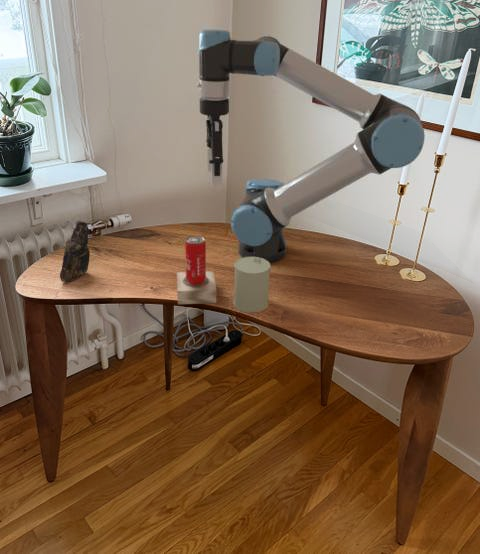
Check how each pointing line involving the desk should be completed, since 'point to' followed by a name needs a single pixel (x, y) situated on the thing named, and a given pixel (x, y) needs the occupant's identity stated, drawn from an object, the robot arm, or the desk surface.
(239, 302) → the can
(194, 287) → the base
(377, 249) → the desk surface
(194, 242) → the beverage can
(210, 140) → the robot arm
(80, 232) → the statue
